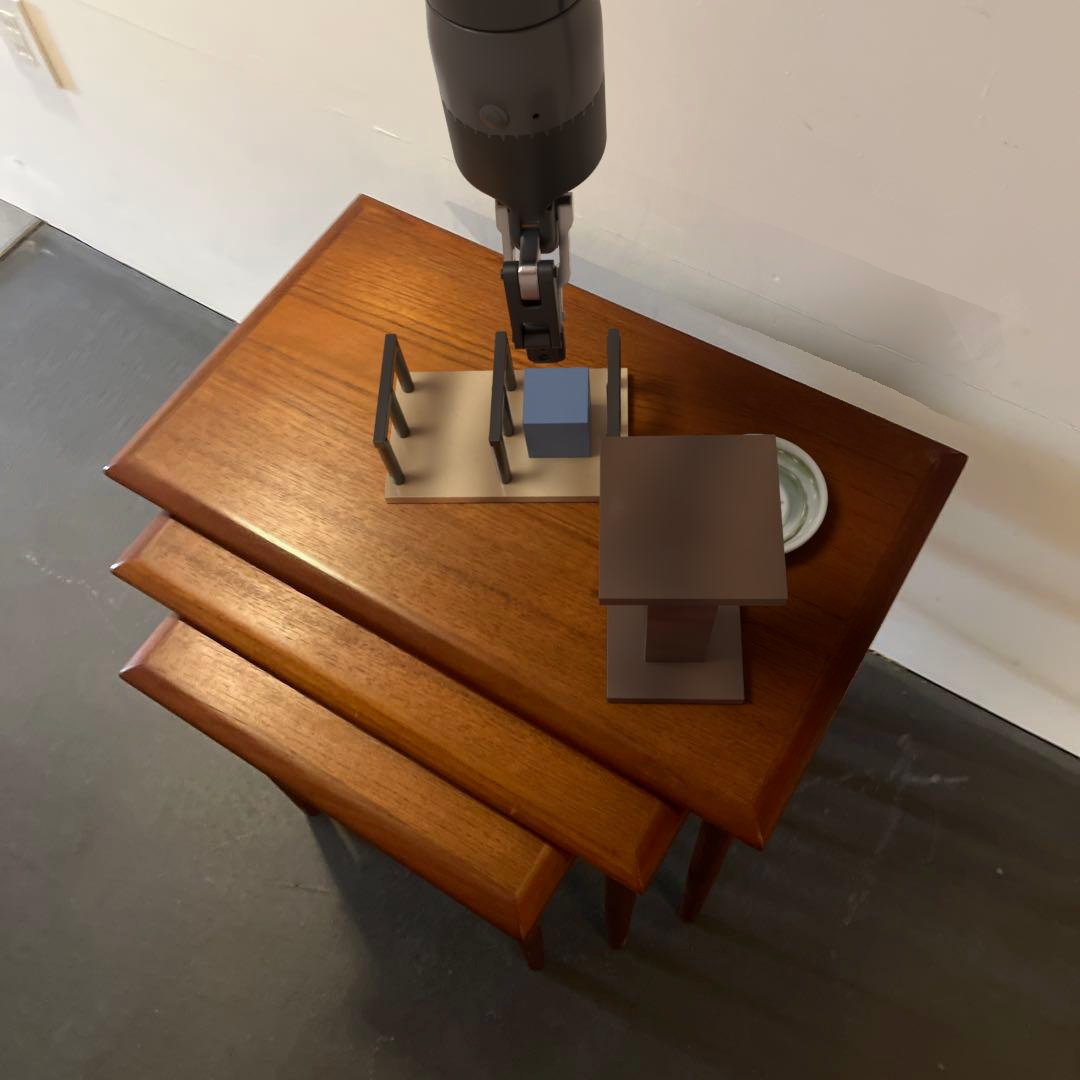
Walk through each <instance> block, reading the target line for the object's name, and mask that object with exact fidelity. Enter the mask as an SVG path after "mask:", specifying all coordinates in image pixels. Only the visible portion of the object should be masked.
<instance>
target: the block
mask: <svg viewBox="0 0 1080 1080" xmlns="http://www.w3.org/2000/svg"><path fill="white" fill-rule="evenodd" d="M589 369H590V367H587V366H584V367H583V366H582V367H577V366H576V367H575V366H574V367H533V368H526V367H525V368H524V370H525V372H524V394H523V417H522V425H523V430H524V435H525V440H526V446H527V451H528V456H529V458H554V457H590V456H591V393H590V377H589Z"/></svg>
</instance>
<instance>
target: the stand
mask: <svg viewBox="0 0 1080 1080" xmlns="http://www.w3.org/2000/svg"><path fill="white" fill-rule="evenodd" d="M776 437H777V435H776V434H764V435H745V434H717V435H715V434H713V435H711V434H710V435H638V436H637V435H636V436H634V435H633V436H630V435H628V436H623V437H600V502H599V507H598V509H599V511H598V512H599V516H598V517H599V518H598V519H599V520H598V522H599V523H598V536H599V537H598V605H599V606H606V688H605V689H606V693H605V694H606V703H612V704H613V703H614V704H615V703H616V704H618V703H620V704H621V703H622V704H697V705H698V704H699V705H700V704H702V705H705V704H706V705H707V704H708V705H709V704H710V705H718V704H719V705H743V703H744V701H745V699H746V698H745V682H744V663H743V662H744V661H743V642H742V627H741V607H744V606H745V607H746V606H747V607H751V606H757V607H758V606H759V607H765V606H766V607H768V606H769V607H771V606H773V607H774V606H775V607H784V606H786V604H787V602H788V599H789V595H788V582H787V581H788V578H787V567H786V566H787V565H786V553H785V552H784V539H783V525H782V512H781V499H780V486H779V472H778V459H777V446H776ZM740 606H741V607H740Z"/></svg>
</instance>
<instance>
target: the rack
mask: <svg viewBox="0 0 1080 1080" xmlns="http://www.w3.org/2000/svg"><path fill="white" fill-rule="evenodd" d="M493 348H494V350H493V365H492V369H491V370H448V371H447V370H445V371H444V370H443V371H441V370H439V371H438V370H437V371H410V370H409V366H408V364H407V362H406V358H405V355H404V354H403V351H402V348H401V345H400V343H399V339H398V336H397V334H396V333H385V334H384V342H383V351H382V359H381V368H380V377H379V386H378V393H377V402H376V410H375V411H376V412H375V419H374V429H373V437H372V444H373V446H374V448H375V449H376V451H377V453H378V455H379V456H380V459H381V461H382V463H383V465H384V467H385V469H386V474H385V475H386V477H385V483H384V484H385V485H384V495H383V498H384V500H385V502H386V504H452V503H453V504H458V503H459V504H460V503H461V504H465V503H466V504H467V503H471V504H473V503H475V504H476V503H478V504H479V503H482V504H483V503H589V502H590V503H594V502H595V503H600V437H623V436H629V372H628V371H629V369H628V367H622V341H621V335H620V328H608V329H607V335H606V365H607V367H605V368H604V367H603V368H602V367H599V368H589V377H590V393H591V456H590V457H554V458H529V456H528V451H527V446H526V440H525V435H524V430H523V425H522V417H523V394H524V372H525V369H515V368H514V362H513V357H512V352H511V348H510V342H509V338H508V332H507V331H506V330H499V331H497V330H496V331H495V332H494V347H493ZM395 375H396V381H395ZM394 381H395V382H396V383H395V390H394ZM390 421H391V430H390V431H391V432H390V439H389V438H388V437H389V435H388V434H389V427H390Z"/></svg>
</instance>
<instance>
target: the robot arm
mask: <svg viewBox="0 0 1080 1080" xmlns="http://www.w3.org/2000/svg"><path fill="white" fill-rule="evenodd" d="M424 1H425V2H424V3H425V17H426V30H427V31H426V32H427V40H428V45H429V50H430V55H431V60H432V63H433V69H434V72H435V73H434V74H435V77H436V82H437V86H438V91H439V95H440V100H441V104H442V109H443V113H444V118H445V123H446V127H447V132H448V135H449V140H450V144H451V145H450V146H451V150H452V153H453V158H454V162H455V164H456V166H457V169H458V171H459V172H460V174H461V175H462V176H463V178H464V179H465V180H466V181H467V182H468V183H469V184H470V185H471V186H472V187H473V188H474V189H476V190H477V191H479V192H481V193H483V194H484V195H487V196H488V197H490V198H492V199H494V212H495V213H494V215H495V225H496V228H497V230H498V232H499V233H500V234H501V243H502V257H503V258H502V259H503V262H502V268H500V280H502V282H503V289H504V294H505V298H506V299H505V300H506V305H507V311H508V316H509V323H510V328H511V332H512V333H511V342H512V344H513V346H514V349H515V350H525V351H526V358H527V360H528V361H530V362H532V363H533V365H535V364H536V365H538V364H539V365H540V364H541V365H542V364H559V363H560V362H563V361H565V359H566V357H567V345H566V335H565V327H564V322H566V320H567V319H566V318H567V313H566V310H564V298H563V297H564V296H563V293H564V292H563V287H565V286H567V284H569V282H570V279H571V274H572V260H571V259H572V258H571V232H570V231H571V229H572V227H573V223H574V219H575V209H574V208H575V207H574V192H573V191H572V190H574V189H575V188H577V187H579V186H580V185H581V184H582V183H584V182H585V181H586V180H587V179H588V178H590V176H591V175H592V174H593V173H594V172H595V170H596V169H597V168H598V166H599V164H600V162H601V160H602V159H603V157H604V153H605V151H606V146H607V140H608V139H607V138H608V133H607V131H608V130H607V105H606V104H607V103H606V101H607V99H606V76H605V74H606V73H605V50H604V49H605V48H604V45H605V44H604V23H603V10H602V3H601V0H424ZM516 249H517V250H518V251H519V258H518V260H517V256H516ZM557 249H558V256H559V262H557V264H555V259H542V255H548V254H549V255H550V254H552V253H553V252H555V251H556V250H557Z"/></svg>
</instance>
